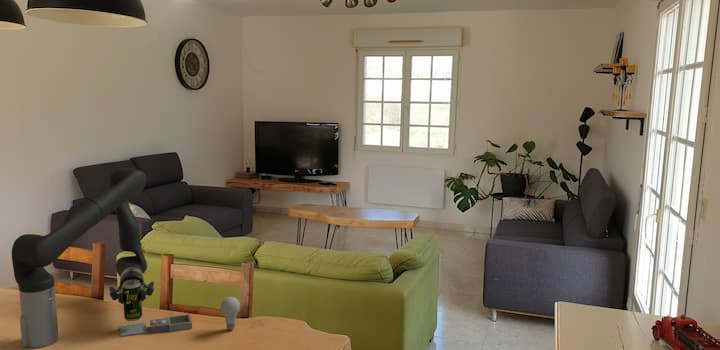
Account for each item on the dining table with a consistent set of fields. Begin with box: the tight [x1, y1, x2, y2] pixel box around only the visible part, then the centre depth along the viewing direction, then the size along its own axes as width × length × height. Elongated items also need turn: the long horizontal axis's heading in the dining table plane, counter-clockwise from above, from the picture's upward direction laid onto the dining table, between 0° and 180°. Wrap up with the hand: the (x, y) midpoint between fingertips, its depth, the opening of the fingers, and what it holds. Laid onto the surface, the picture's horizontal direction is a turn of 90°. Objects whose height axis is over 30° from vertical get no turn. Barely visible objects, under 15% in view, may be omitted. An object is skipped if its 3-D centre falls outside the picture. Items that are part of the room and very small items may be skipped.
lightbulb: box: [220, 296, 241, 331], centre depth 177 cm, size 6×6×11 cm
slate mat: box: [120, 322, 148, 338], centre depth 177 cm, size 8×8×1 cm
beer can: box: [122, 280, 143, 322], centre depth 175 cm, size 5×5×12 cm
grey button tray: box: [149, 313, 193, 334], centre depth 179 cm, size 12×7×3 cm, turn 113°
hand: (132, 299), depth 173 cm, fingers closed on beer can, 5 cm apart
